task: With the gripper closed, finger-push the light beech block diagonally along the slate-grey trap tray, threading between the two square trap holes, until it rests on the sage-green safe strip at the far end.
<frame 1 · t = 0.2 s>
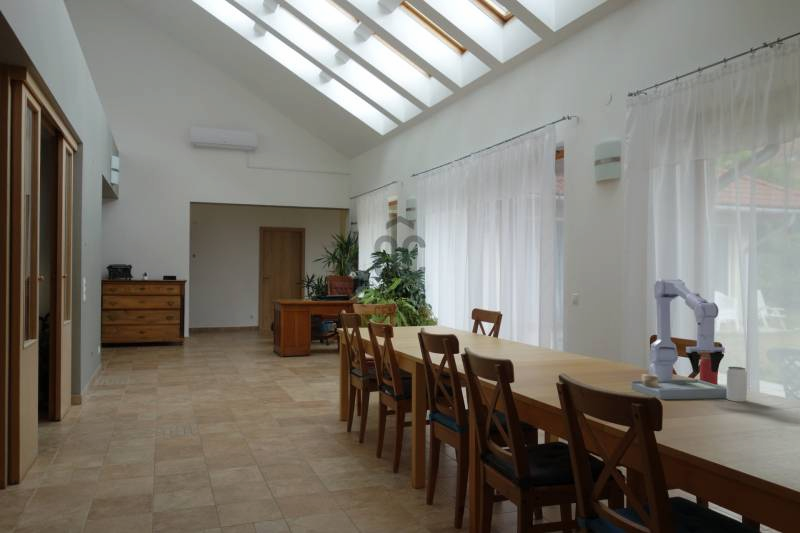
hand: (704, 372, 229), 10 cm above the table, fingers open, 7 cm apart
beer can: (708, 387, 255), on the table
block: (649, 385, 241), point 2 cm above the table, touching trap box
can: (736, 401, 228), on the table
trap box: (678, 393, 240), on the table
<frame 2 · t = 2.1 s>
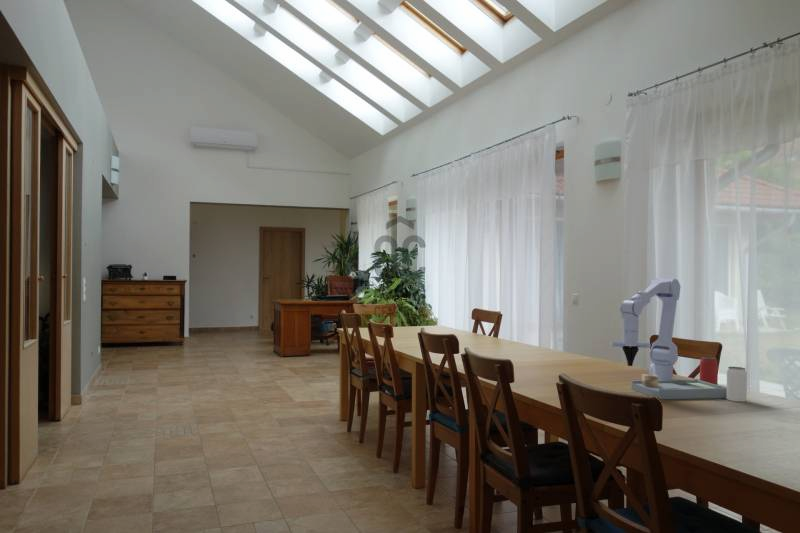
hand: (629, 365, 242), 10 cm above the table, fingers closed
nothing on the table moved.
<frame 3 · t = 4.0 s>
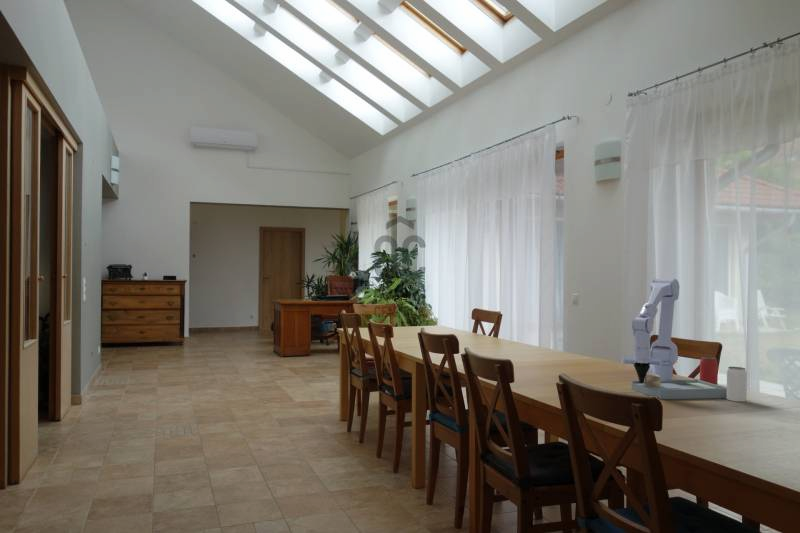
hand: (641, 382, 242), 3 cm above the table, fingers closed
block: (651, 385, 241), point 3 cm above the table, touching gripper
everything else where it was.
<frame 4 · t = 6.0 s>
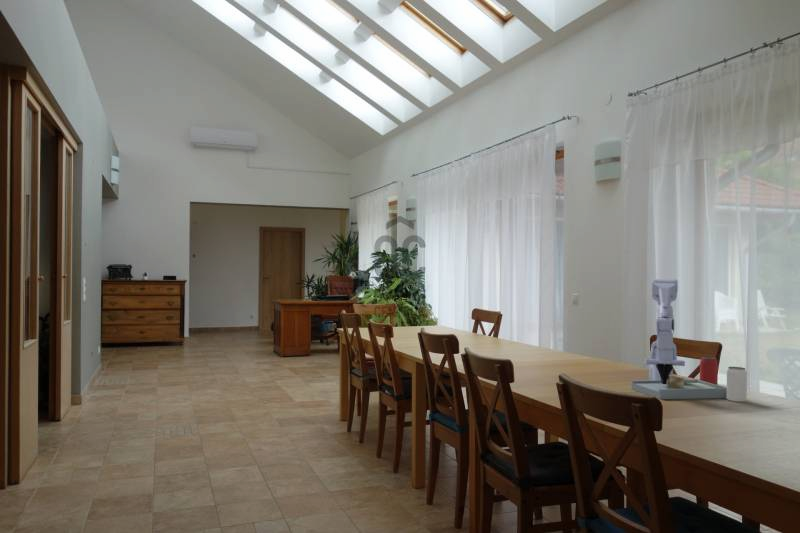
hand: (664, 383, 240), 3 cm above the table, fingers closed
block: (674, 386, 240), point 2 cm above the table, touching gripper, trap box
everything else where it was.
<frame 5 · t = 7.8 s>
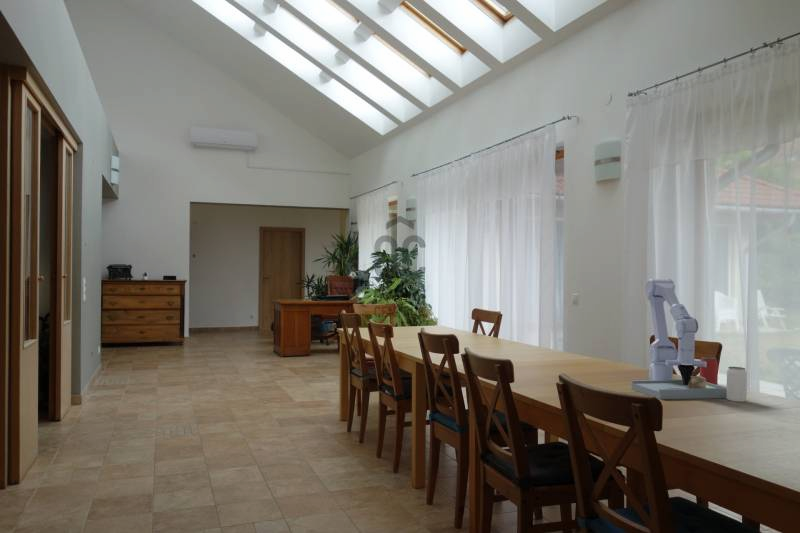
hand: (685, 384, 239), 3 cm above the table, fingers closed
block: (696, 387, 239), point 3 cm above the table, touching gripper
everything else where it was.
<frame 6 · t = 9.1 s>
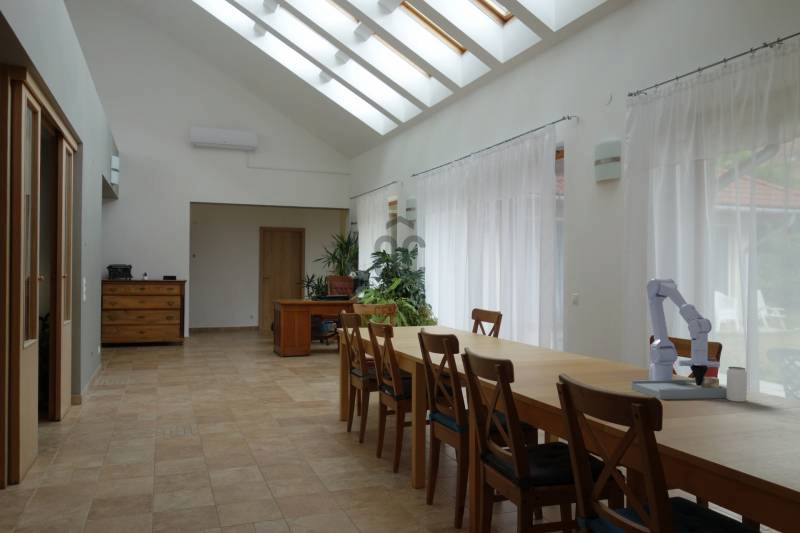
hand: (698, 385, 239), 3 cm above the table, fingers closed
block: (709, 388, 238), point 2 cm above the table, touching gripper, trap box
everything else where it was.
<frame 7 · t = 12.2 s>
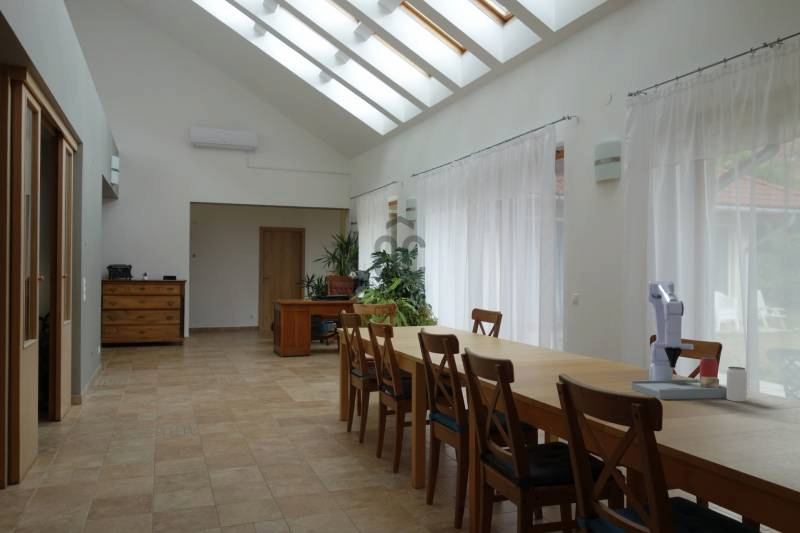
hand: (672, 367, 240), 10 cm above the table, fingers closed
block: (709, 388, 238), point 2 cm above the table, touching trap box
everything else where it was.
at the end: block inside the target area on the trap box (3.7 cm from its centre), point 2.5 cm above the trap box's base; block tilted 0° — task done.
